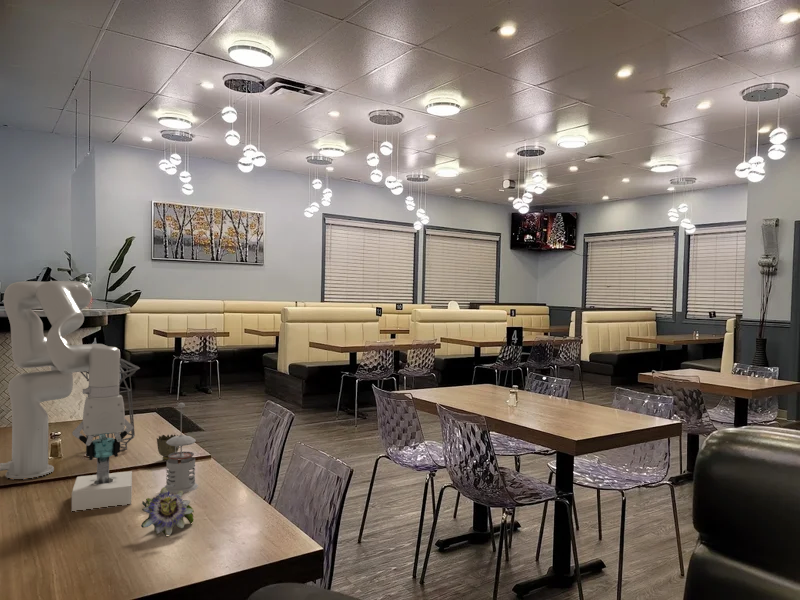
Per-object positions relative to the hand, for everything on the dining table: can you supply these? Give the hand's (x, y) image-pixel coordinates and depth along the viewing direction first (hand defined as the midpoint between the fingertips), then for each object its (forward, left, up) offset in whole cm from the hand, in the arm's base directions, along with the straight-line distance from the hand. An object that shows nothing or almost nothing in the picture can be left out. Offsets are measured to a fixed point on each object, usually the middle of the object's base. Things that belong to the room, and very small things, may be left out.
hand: (103, 456), depth 158 cm
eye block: (0, 0, -12) cm, 12 cm away
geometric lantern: (-1, +53, -12) cm, 54 cm away
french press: (+20, +3, -12) cm, 24 cm away
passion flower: (+15, -28, -12) cm, 34 cm away
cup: (+18, +33, -12) cm, 39 cm away
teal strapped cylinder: (0, 0, -10) cm, 10 cm away
